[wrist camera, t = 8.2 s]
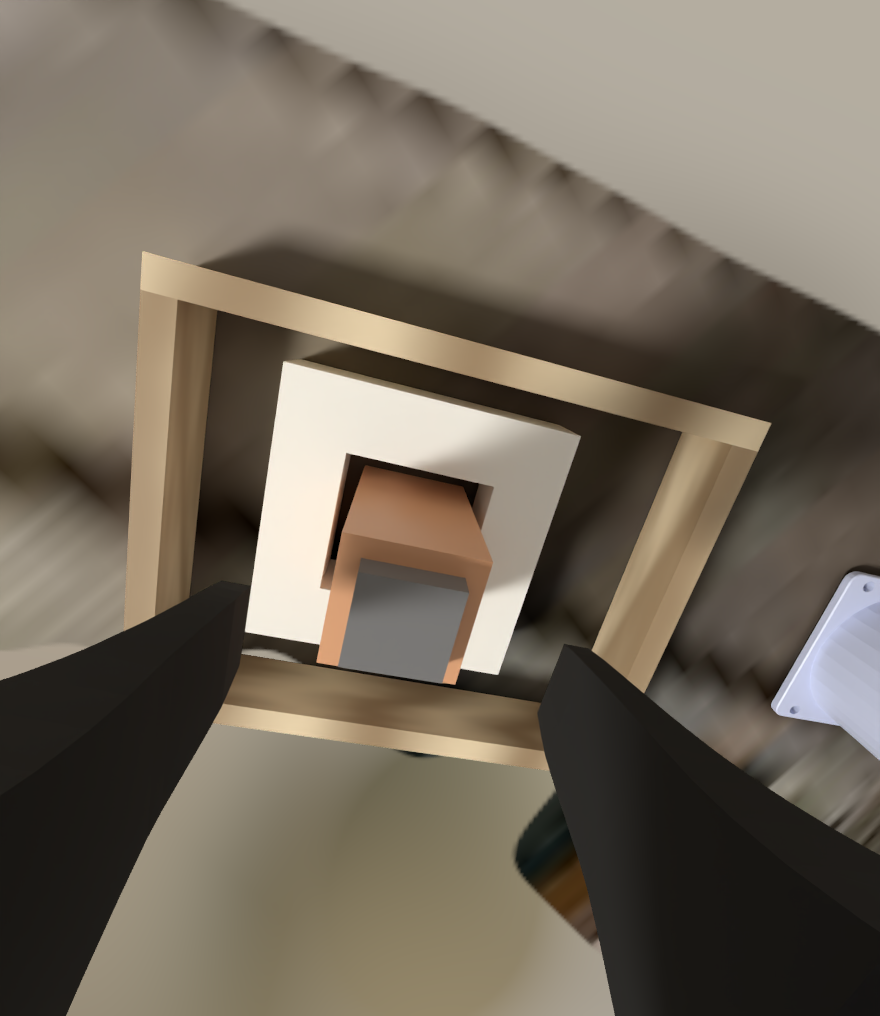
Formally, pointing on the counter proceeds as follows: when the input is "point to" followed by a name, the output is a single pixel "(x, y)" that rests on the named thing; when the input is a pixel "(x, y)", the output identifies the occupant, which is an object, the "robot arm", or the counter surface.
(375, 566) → the peg
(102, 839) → the robot arm
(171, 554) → the tray
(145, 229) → the counter surface
